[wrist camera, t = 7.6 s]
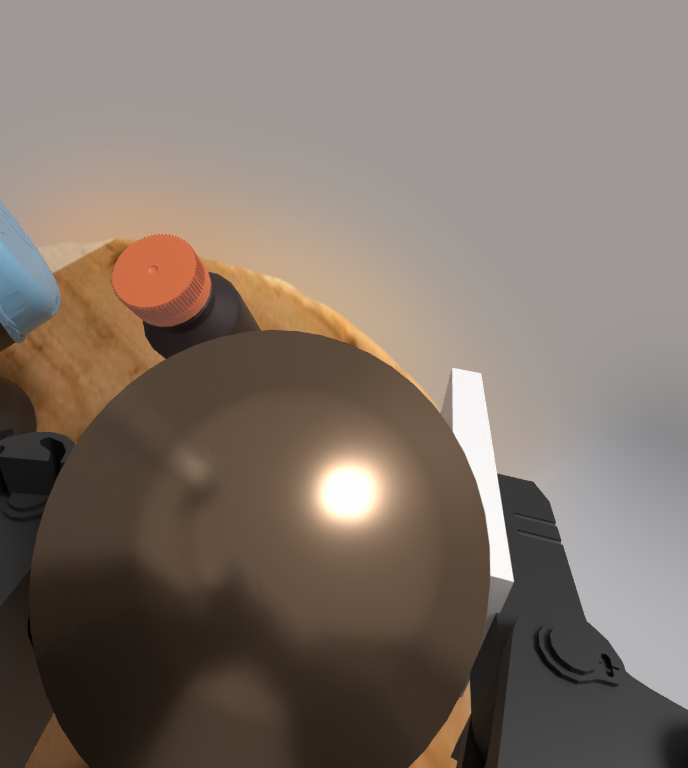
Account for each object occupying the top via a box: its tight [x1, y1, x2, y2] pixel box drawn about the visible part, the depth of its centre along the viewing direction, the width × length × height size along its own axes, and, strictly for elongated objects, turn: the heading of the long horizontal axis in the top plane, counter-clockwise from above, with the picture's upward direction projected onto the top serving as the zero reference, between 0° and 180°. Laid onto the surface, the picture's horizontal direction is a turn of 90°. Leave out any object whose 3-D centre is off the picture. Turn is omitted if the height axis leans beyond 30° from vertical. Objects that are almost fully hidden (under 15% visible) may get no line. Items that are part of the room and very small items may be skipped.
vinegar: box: [111, 234, 261, 359], centre depth 33 cm, size 7×7×20 cm
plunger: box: [29, 330, 490, 768], centre depth 16 cm, size 8×8×25 cm
